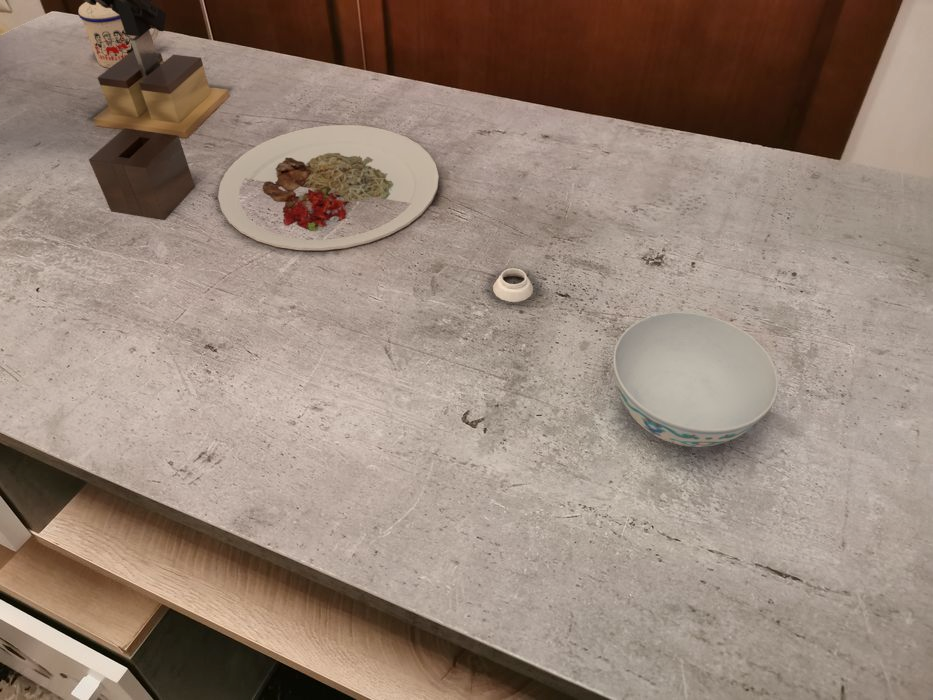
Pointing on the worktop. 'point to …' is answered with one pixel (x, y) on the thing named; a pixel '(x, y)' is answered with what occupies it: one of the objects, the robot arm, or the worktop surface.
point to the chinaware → (693, 378)
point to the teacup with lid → (106, 33)
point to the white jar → (513, 286)
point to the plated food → (331, 181)
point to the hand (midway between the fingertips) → (152, 21)
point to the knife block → (143, 173)
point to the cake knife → (139, 39)
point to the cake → (158, 96)
